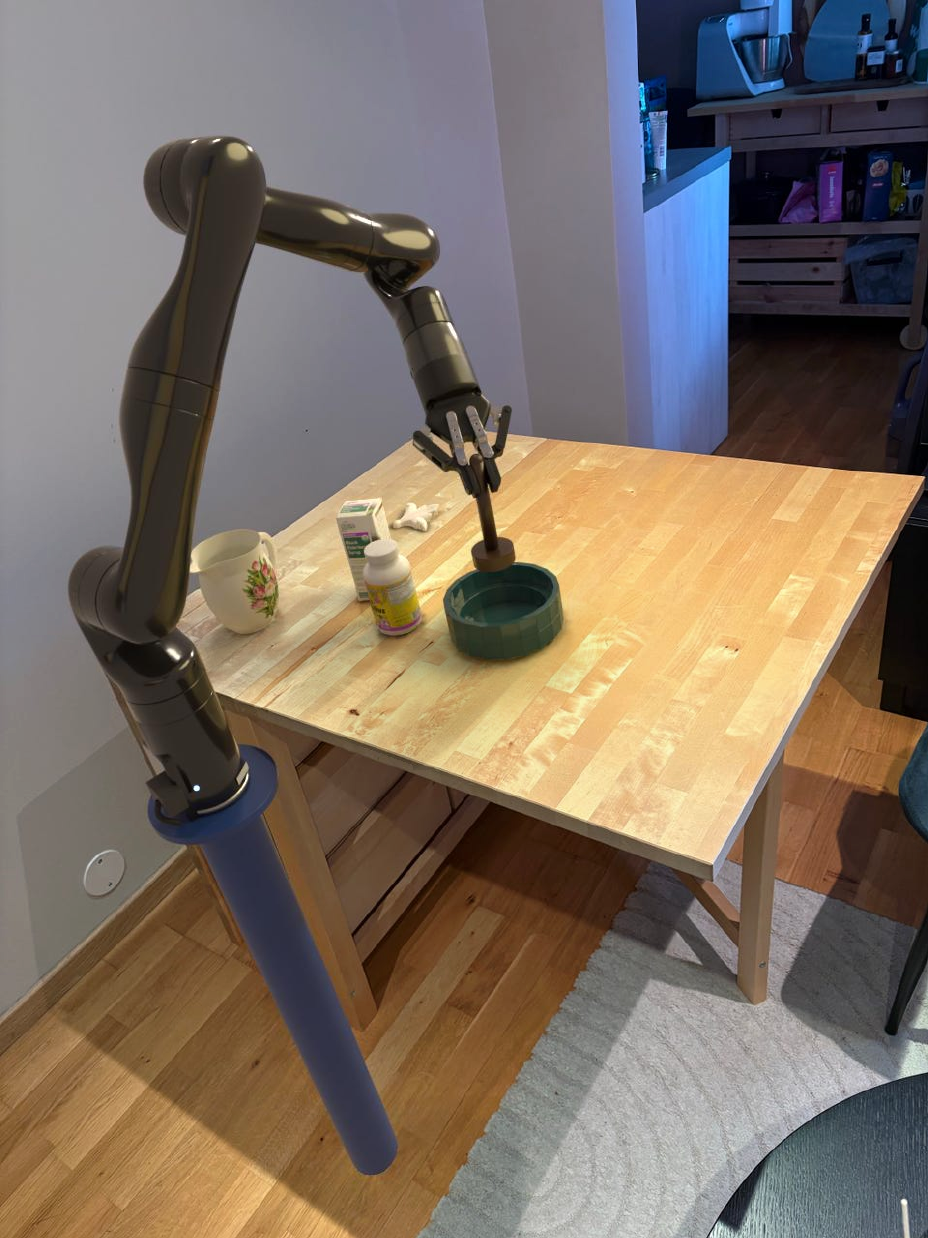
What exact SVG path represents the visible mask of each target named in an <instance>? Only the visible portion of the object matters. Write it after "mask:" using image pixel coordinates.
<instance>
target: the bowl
mask: <svg viewBox="0 0 928 1238" xmlns="http://www.w3.org/2000/svg"><path fill="white" fill-rule="evenodd" d="M442 603H443V604H442V605H443V608H444V609H443V610H444V615H445V618H446V623H447V628H448V633H449V637H450V641H451V643H452V644H453V646H455V648H456V649H457V650H458V651H459V652H461V653H463V654H465V655H467V656H468V657H472V658H475V659H481V660H486V661H503V660H505V661H506V660H511V659H517V658H520V657H525V656H528V655H530V654H532V653H535V652H537V651H539V650H542V649H543V648H545V647H546V646H547V645H549V644H550V643H552V642H553V641H554V640H555V639H556V637H557V636H558V635H559V634H560V632H561V631H562V629H563V625H564V619H565V618H564V617H565V616H564V609H563V602H562V595H561V588H560V583H559V580H558V578H557V576H556V575H555V574H554V573H552V572H551V571H550V570H549V569H548V568H546V567H543V566H540V565H538V564H535V563H530V562H523V561H515V562H514V563H513V564H512V565H511V566H510V567H508V568H506V569H504V570H501V571H497V572H482V571H479V570H477V569H476V568H475V569H473V570H469V571H468V572H466V573H464V574H463V575H462V576H459V578H457V579H455V580H454V582H452V583H451V584H450V585H449V586H448V587H447V588H446V590H445V593H444V596H443V598H442Z"/></svg>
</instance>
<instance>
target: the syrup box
mask: <svg viewBox="0 0 928 1238" xmlns="http://www.w3.org/2000/svg"><path fill="white" fill-rule="evenodd" d="M335 520H336V524H337V528H338V531H339V536H340V539H341V542H342V545H343V549H344V552H345V556H346V559H347V562H348V565H349V569H350V573H351V577H352V580H353V584H354V587H355V588H354V589H355V592H356V596H357V600H358V601H359V602H364V601H370V599H369V596H368V592H367V588H366V584H365V581H364V577H363V569H364V567H365V565H366V564H367V563H368V562H367V560H366V559H365V554H364V549H365V547H366V546H367V545H369V544H370V543H372V542H374V541H377V540H381V539H392V536H391V534H390V528H389V524H388V521H387V517H386V512H385V509H384V504H383V500H382V497H377V498H370V499H369V498H368V499H358V500H346V501H345V502H344V503H343V504H342V506H341V507H340V509H339V511H338V512H337V515H336V518H335Z"/></svg>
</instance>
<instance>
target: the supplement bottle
mask: <svg viewBox="0 0 928 1238" xmlns="http://www.w3.org/2000/svg"><path fill="white" fill-rule="evenodd" d="M364 554H365V559H366V560H367V562H368V563H367V564H366V565H365V567H364V569H363V577H364V581H365V584H366V588H367V592H368V596H369V599H370V600H369V603H370V607H371V610H372V614H373V617H374V621H375V624H376V627H377V629H378V631H379V632H381V633H382V634H385V635H386V636H402V635H405V634H408V633H410V632H412V631H413V630H415V629H416V628H418V626H420V624H421V622H422V619H423V615H422V610H421V606H420V602H419V598H418V594H417V590H416V585H415V582H414V577H413V573H412V569H411V565H410V564H411V563H410V562H409V560H408V559H407V558H406V557H405V556H404V555H402V554H400V549H399V545H398V542H397V541H396V540H394V539H392V538H391V539H381V540H377V541H374V542H372V543H370V544H369V545H367V546H366V547H365V549H364Z"/></svg>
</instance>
